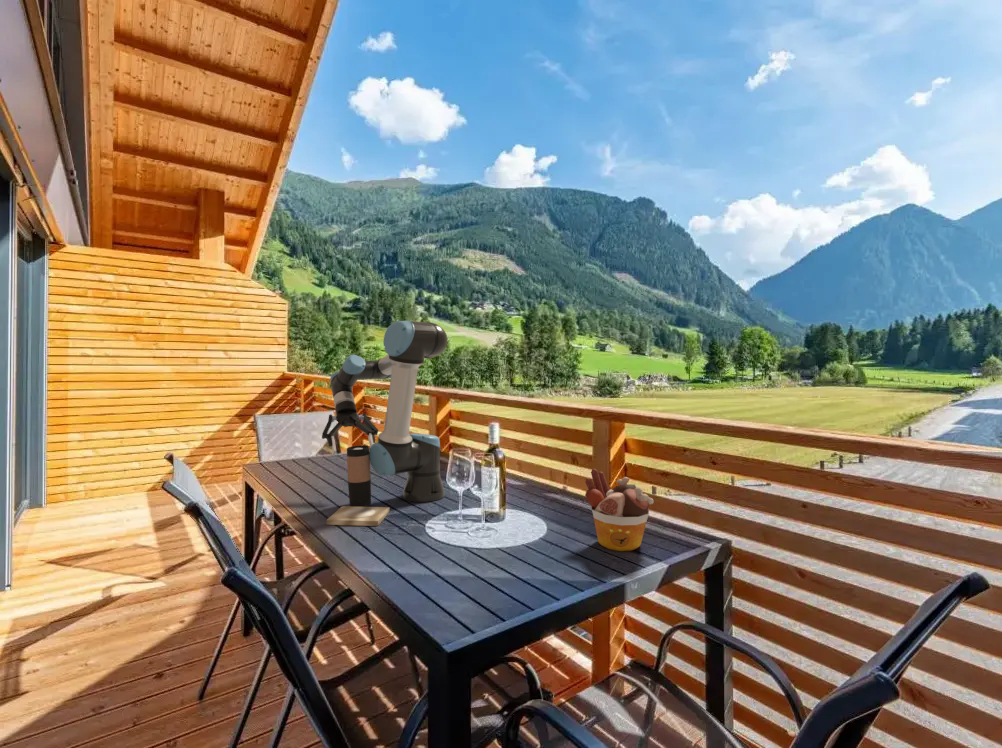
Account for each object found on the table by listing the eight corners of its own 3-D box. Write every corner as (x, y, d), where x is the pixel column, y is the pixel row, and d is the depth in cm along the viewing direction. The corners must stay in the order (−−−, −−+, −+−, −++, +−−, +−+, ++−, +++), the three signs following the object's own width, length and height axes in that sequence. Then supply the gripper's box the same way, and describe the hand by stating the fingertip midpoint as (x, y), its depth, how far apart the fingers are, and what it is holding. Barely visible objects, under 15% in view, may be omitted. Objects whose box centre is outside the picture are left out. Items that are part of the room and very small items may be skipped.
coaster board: (389, 511, 170) (389, 506, 170) (378, 525, 156) (378, 520, 156) (342, 510, 170) (342, 505, 170) (326, 524, 156) (326, 519, 156)
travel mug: (344, 506, 176) (341, 448, 175) (359, 499, 182) (357, 444, 181) (360, 508, 172) (358, 450, 171) (376, 502, 179) (373, 446, 178)
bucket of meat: (664, 547, 141) (666, 476, 141) (629, 562, 131) (631, 486, 130) (606, 528, 157) (608, 464, 156) (571, 540, 146) (572, 471, 145)
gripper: (375, 410, 204) (386, 454, 192) (309, 413, 192) (316, 460, 180) (379, 398, 199) (390, 442, 187) (312, 400, 187) (319, 448, 175)
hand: (354, 451), depth 183 cm, fingers open, 13 cm apart
